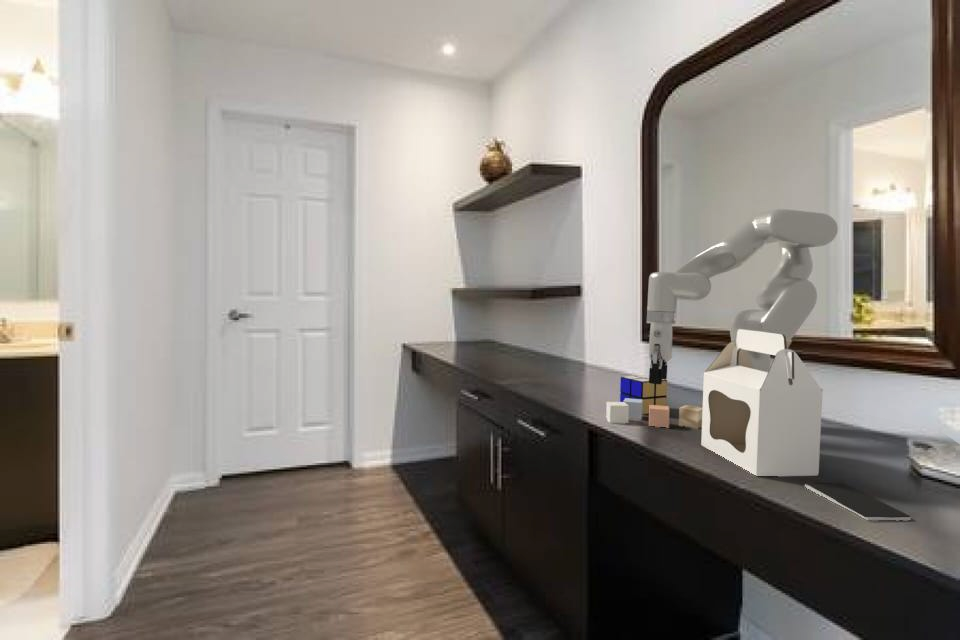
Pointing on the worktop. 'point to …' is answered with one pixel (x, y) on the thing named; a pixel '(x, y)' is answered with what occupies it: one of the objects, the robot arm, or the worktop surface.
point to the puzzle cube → (643, 391)
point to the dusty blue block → (634, 408)
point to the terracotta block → (659, 416)
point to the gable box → (762, 408)
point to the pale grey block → (617, 412)
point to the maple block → (690, 416)
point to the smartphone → (857, 501)
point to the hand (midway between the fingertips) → (657, 381)
